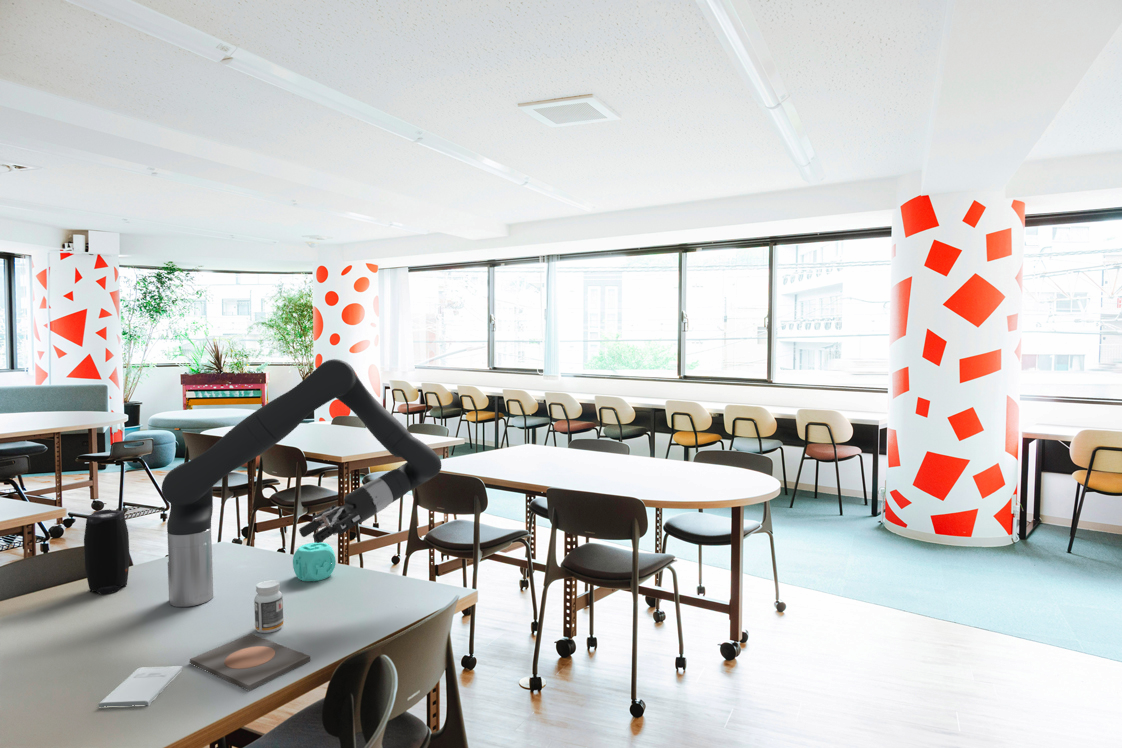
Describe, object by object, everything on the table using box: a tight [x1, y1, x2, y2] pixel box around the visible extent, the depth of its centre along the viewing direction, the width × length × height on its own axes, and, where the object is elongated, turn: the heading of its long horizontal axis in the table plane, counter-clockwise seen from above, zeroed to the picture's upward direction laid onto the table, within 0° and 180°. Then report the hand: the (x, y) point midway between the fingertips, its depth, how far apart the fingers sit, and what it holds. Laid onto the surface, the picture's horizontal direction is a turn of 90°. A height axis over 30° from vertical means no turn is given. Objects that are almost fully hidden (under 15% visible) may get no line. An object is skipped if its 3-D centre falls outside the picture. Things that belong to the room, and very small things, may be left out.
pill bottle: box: [253, 579, 284, 634], centre depth 146 cm, size 6×6×10 cm
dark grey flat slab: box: [189, 633, 311, 691], centre depth 131 cm, size 19×13×1 cm
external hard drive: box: [98, 665, 183, 708], centre depth 121 cm, size 2×8×12 cm
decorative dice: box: [292, 541, 337, 582], centre depth 177 cm, size 8×8×8 cm
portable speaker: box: [83, 509, 131, 596], centre depth 168 cm, size 9×9×20 cm
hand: (307, 536), depth 152 cm, fingers open, 8 cm apart
